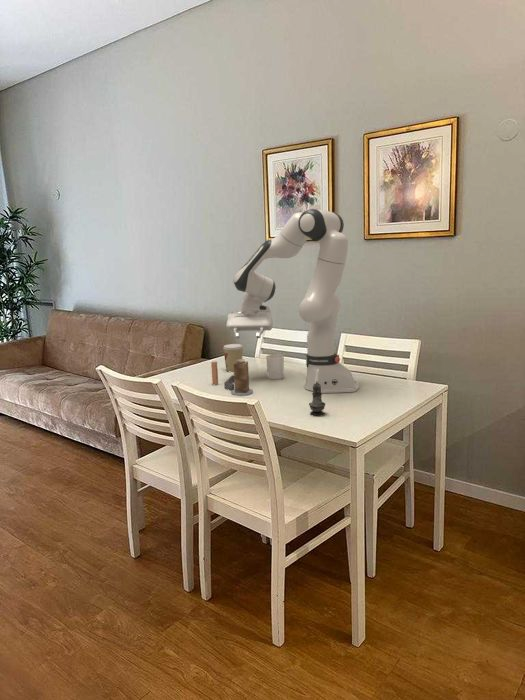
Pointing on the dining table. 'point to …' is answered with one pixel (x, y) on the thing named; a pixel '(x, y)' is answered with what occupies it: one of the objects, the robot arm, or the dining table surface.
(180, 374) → the dining table surface
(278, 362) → the white cup
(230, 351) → the coffee cup
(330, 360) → the robot arm
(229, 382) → the wire course
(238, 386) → the block
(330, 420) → the dining table surface
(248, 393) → the pad
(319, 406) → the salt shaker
